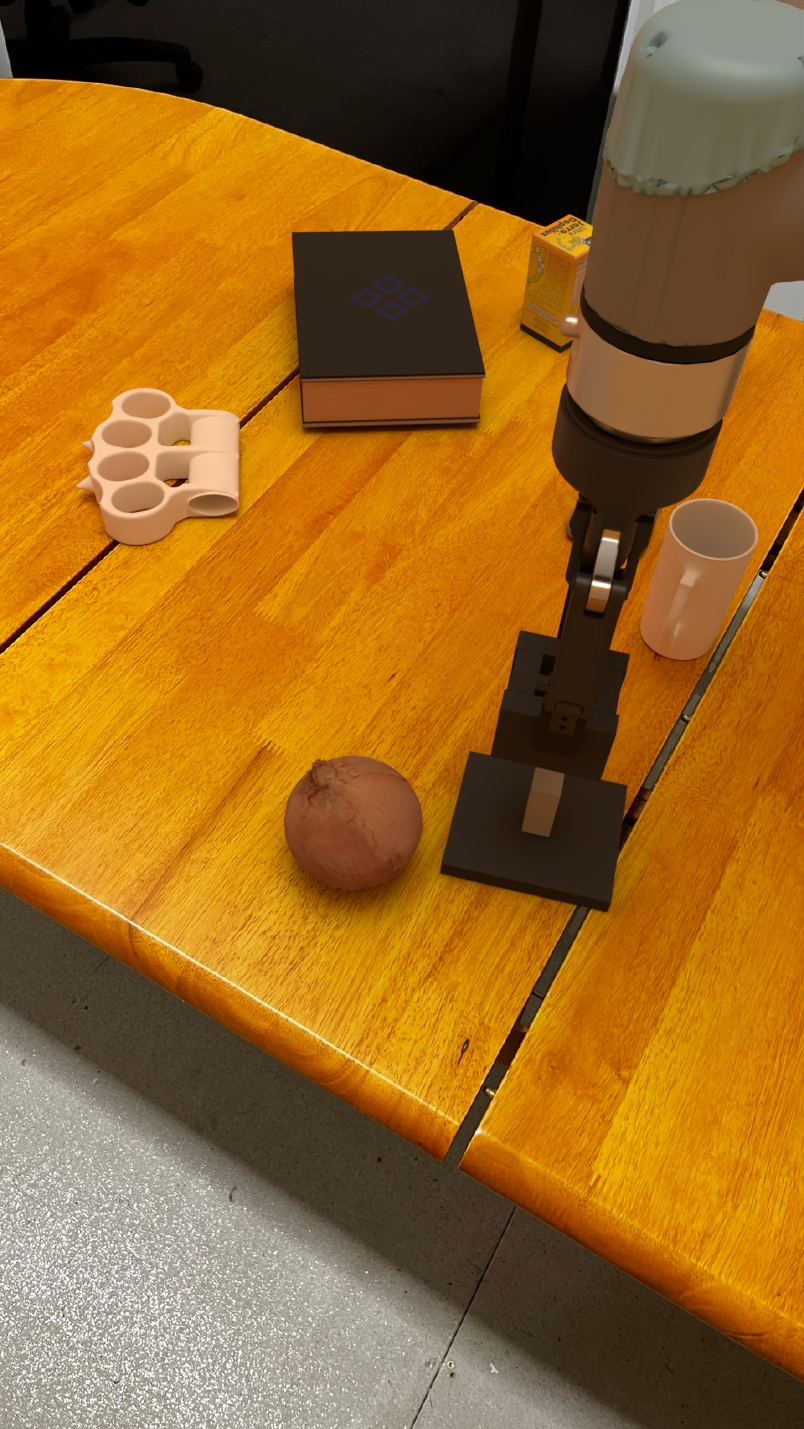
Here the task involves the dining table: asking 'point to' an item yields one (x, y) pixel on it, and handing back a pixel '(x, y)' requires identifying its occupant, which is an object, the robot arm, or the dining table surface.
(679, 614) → the mug
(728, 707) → the dining table surface
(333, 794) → the onion
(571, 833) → the base pad
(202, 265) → the dining table surface
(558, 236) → the supplement box
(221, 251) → the dining table surface
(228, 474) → the knuckle duster
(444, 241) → the book
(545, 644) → the black hollow block
